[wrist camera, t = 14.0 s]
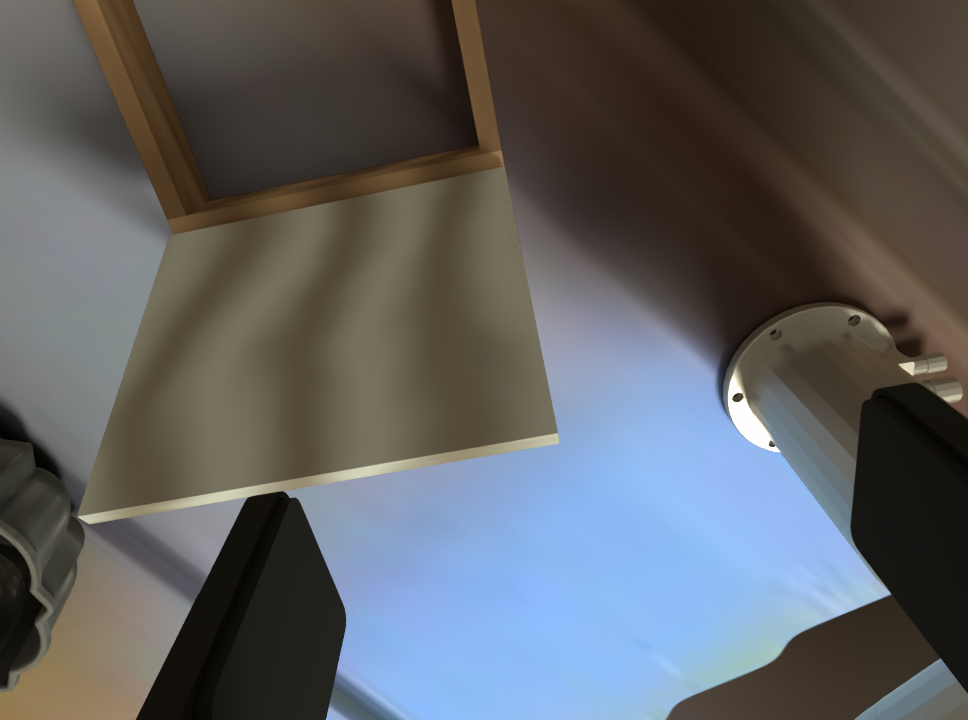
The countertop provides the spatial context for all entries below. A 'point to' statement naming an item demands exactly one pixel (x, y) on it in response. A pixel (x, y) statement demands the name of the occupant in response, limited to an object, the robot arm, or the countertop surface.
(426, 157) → the cold frame
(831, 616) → the countertop surface
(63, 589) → the bundt pan
